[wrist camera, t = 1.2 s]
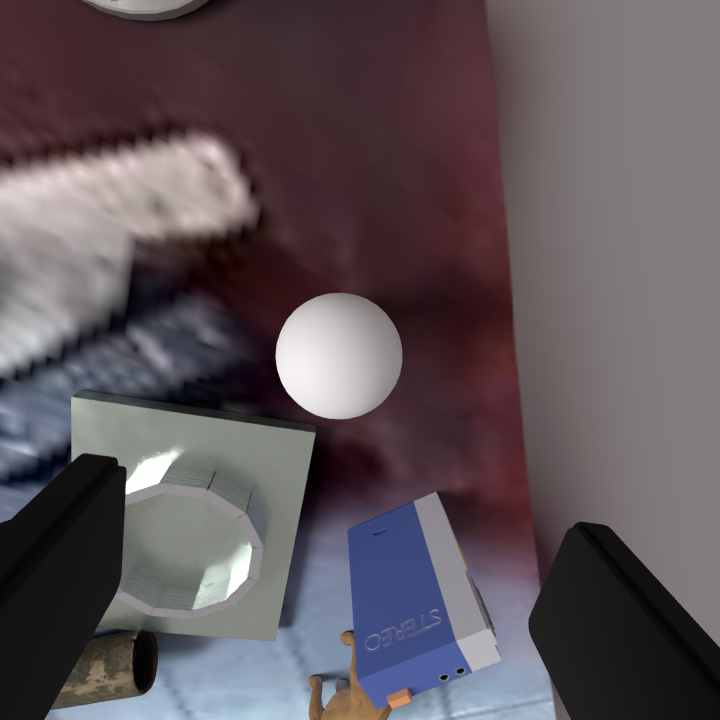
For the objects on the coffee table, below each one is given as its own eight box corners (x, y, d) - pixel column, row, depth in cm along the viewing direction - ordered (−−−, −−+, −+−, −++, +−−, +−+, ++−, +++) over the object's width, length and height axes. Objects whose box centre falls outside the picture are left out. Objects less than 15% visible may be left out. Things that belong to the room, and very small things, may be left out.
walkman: (361, 553, 34) (378, 717, 23) (347, 529, 34) (357, 687, 22) (449, 516, 34) (510, 666, 23) (437, 490, 33) (494, 633, 22)
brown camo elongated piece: (148, 611, 35) (117, 683, 30) (171, 666, 37) (146, 741, 32) (-67, 649, 35) (-138, 728, 29) (-30, 702, 37) (-90, 784, 32)
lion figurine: (341, 716, 41) (345, 847, 32) (290, 705, 40) (280, 838, 31) (409, 609, 37) (433, 726, 28) (354, 593, 36) (362, 710, 27)
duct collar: (81, 389, 28) (52, 410, 25) (316, 424, 30) (314, 447, 27) (81, 611, 34) (57, 649, 31) (277, 628, 36) (272, 665, 33)
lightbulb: (276, 340, 28) (246, 412, 18) (312, 256, 27) (302, 281, 16) (358, 375, 29) (374, 461, 19) (397, 296, 28) (438, 343, 17)
